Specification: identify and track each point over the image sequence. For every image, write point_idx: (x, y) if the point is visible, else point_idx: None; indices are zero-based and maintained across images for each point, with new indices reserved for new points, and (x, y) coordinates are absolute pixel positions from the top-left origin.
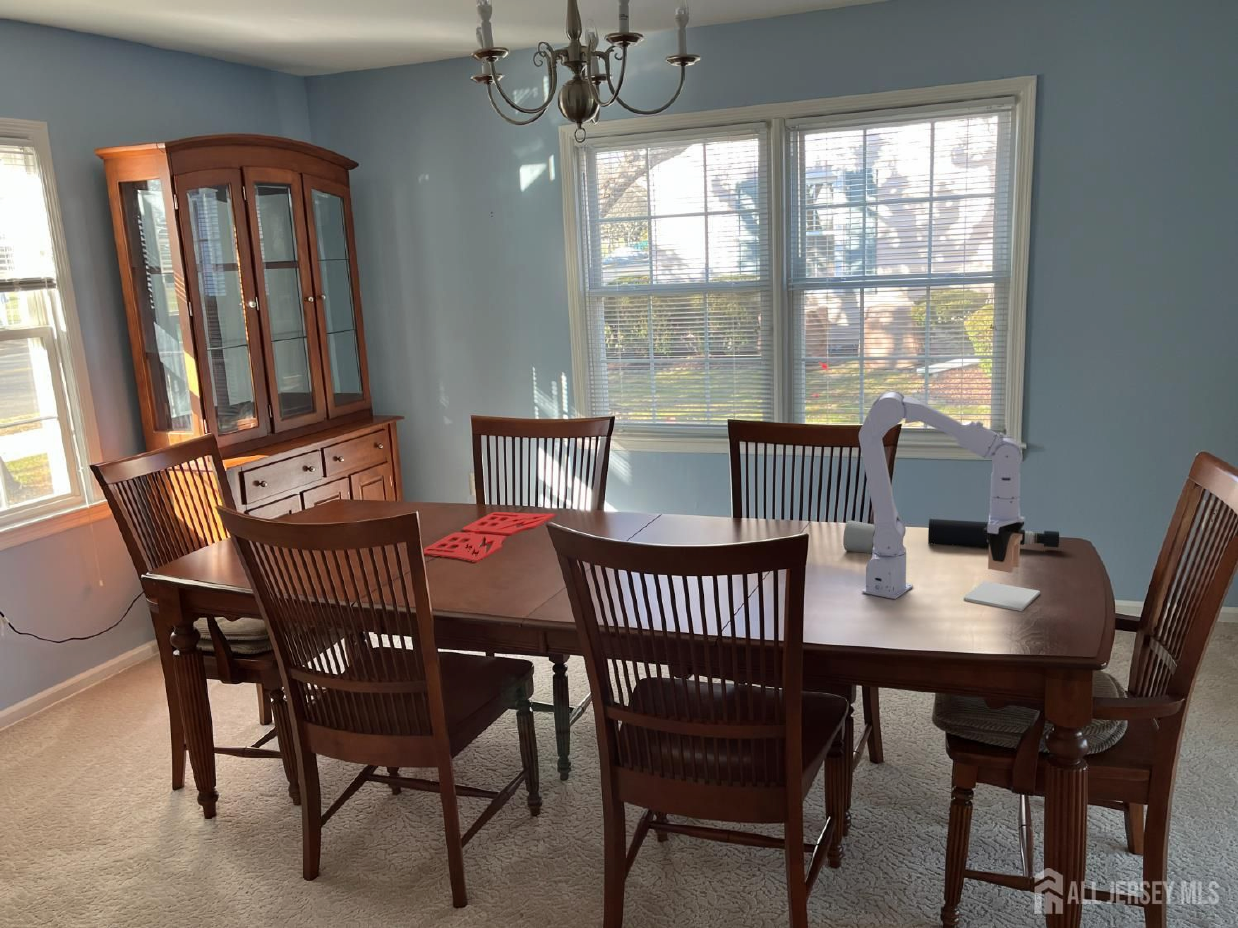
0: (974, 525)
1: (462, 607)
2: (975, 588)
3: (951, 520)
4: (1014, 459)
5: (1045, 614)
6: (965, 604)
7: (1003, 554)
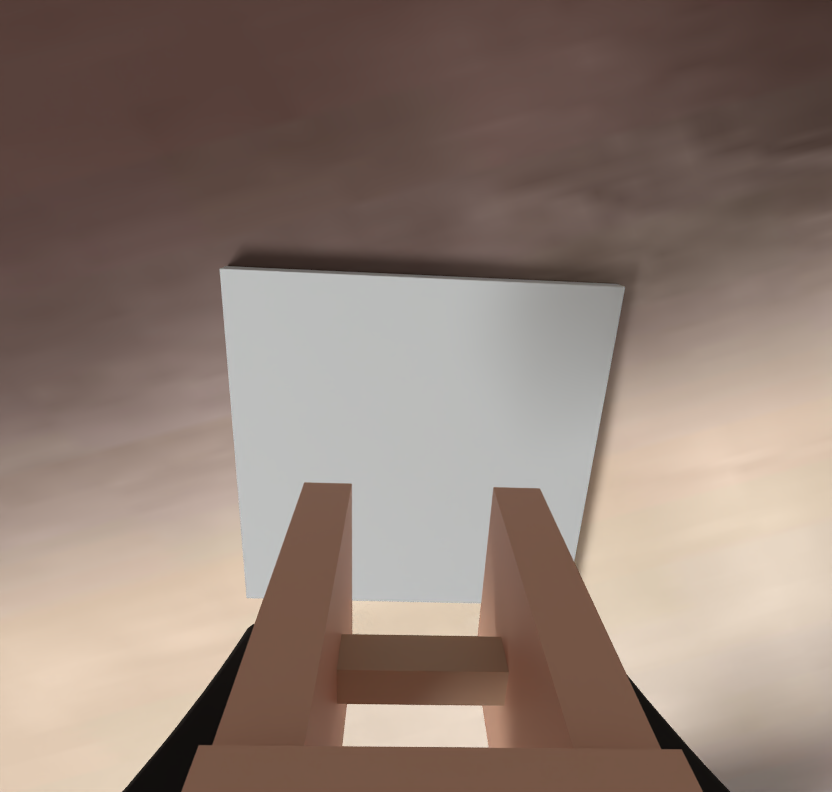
0: None
1: None
2: (394, 597)
3: None
4: None
5: (614, 120)
6: (620, 568)
7: (648, 709)
